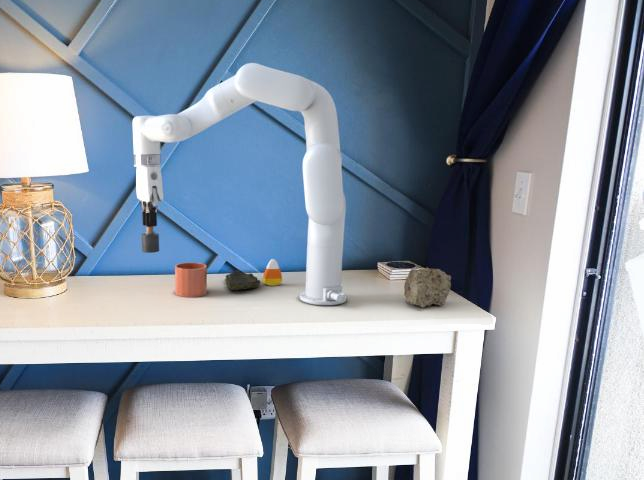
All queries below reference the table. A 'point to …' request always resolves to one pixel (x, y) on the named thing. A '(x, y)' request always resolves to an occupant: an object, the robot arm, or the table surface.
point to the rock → (427, 287)
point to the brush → (150, 240)
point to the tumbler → (190, 279)
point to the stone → (241, 280)
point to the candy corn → (272, 274)
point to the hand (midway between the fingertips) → (149, 225)
